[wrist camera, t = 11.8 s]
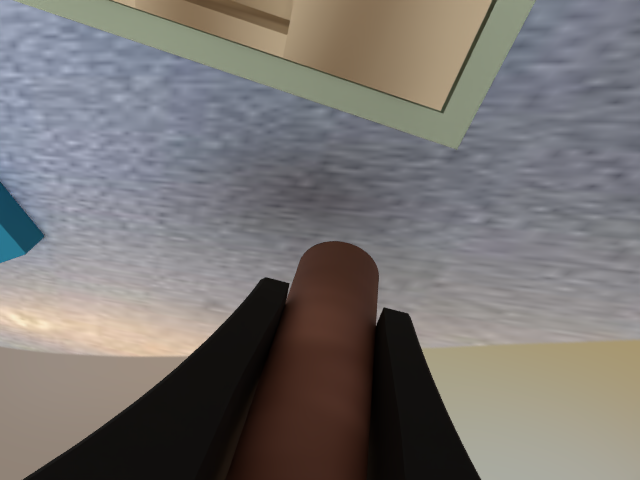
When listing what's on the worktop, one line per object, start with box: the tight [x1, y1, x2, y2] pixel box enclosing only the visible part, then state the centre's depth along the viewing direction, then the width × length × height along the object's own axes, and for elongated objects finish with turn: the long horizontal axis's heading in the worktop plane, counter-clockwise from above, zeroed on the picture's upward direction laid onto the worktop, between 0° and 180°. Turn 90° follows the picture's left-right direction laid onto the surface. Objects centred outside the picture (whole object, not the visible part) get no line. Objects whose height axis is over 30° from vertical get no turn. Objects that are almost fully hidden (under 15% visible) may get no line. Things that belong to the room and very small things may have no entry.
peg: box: [225, 241, 379, 480], centre depth 8 cm, size 2×2×7 cm
